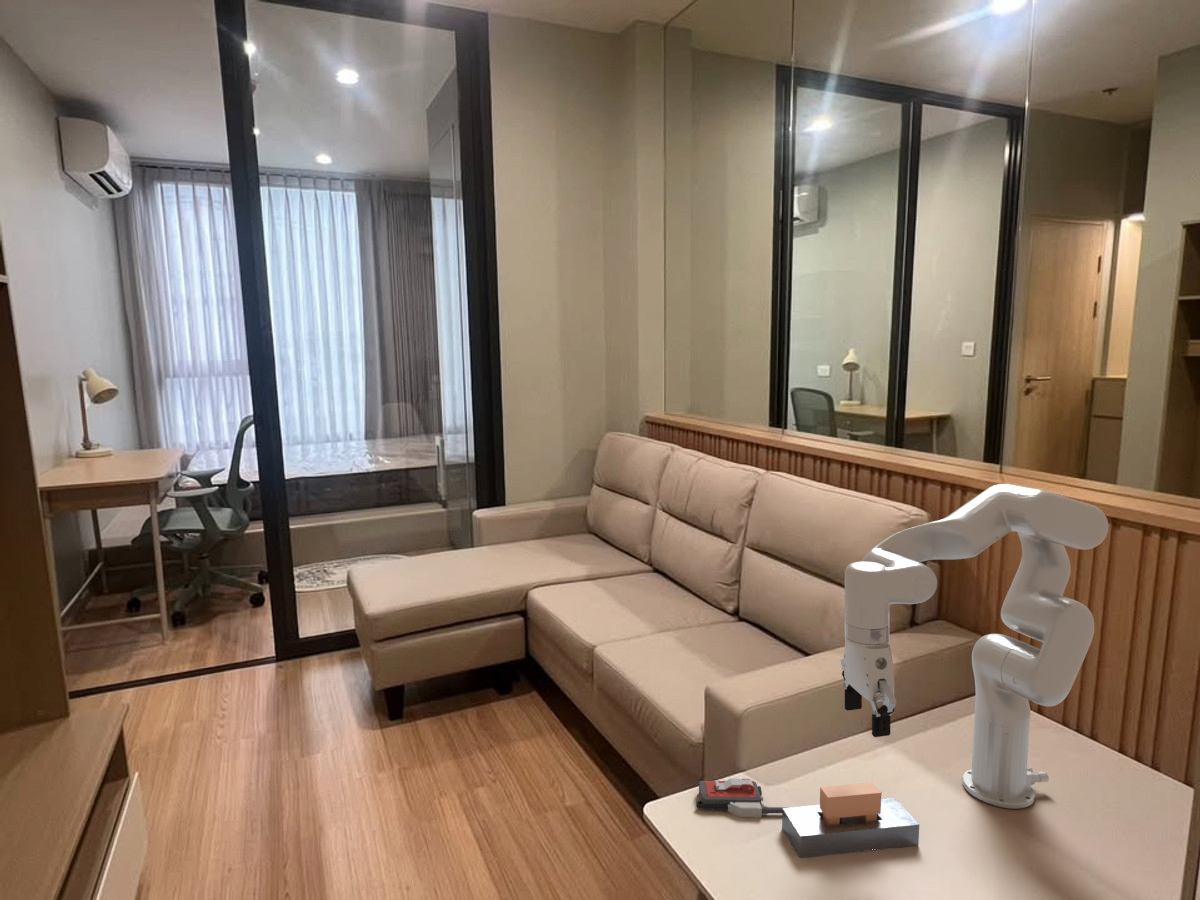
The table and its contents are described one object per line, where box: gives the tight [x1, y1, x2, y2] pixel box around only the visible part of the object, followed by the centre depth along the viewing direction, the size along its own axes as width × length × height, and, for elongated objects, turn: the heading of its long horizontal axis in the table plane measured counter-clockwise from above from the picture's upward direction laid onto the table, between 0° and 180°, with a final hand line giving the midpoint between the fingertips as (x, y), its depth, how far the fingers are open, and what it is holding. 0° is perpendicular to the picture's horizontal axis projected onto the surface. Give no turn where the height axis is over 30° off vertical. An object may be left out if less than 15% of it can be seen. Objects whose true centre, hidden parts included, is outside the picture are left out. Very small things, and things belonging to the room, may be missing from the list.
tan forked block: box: [819, 782, 882, 826], centre depth 128 cm, size 10×3×9 cm, turn 98°
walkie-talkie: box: [695, 778, 790, 819], centre depth 139 cm, size 9×4×20 cm
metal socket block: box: [781, 797, 920, 859], centre depth 129 cm, size 22×8×4 cm, turn 98°
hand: (866, 721), depth 130 cm, fingers open, 9 cm apart
